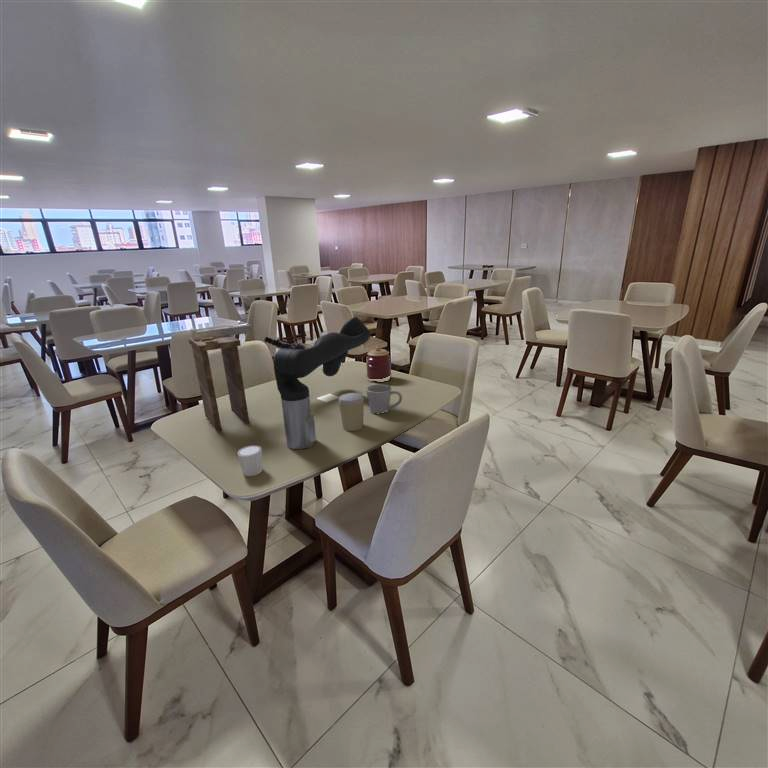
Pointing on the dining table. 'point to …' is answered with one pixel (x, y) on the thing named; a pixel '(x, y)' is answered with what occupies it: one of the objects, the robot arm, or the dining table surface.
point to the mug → (380, 398)
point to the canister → (378, 364)
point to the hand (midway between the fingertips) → (268, 340)
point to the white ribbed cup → (250, 460)
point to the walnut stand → (231, 372)
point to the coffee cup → (351, 411)
